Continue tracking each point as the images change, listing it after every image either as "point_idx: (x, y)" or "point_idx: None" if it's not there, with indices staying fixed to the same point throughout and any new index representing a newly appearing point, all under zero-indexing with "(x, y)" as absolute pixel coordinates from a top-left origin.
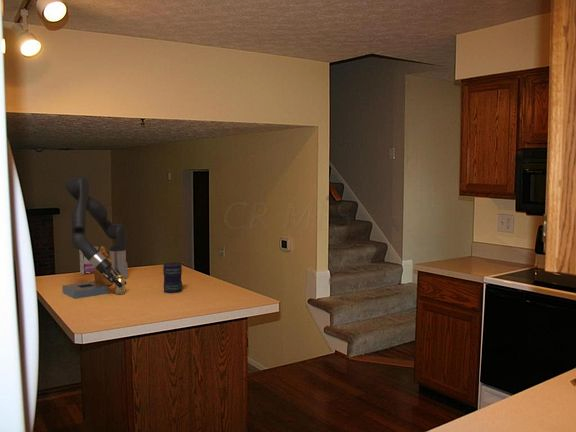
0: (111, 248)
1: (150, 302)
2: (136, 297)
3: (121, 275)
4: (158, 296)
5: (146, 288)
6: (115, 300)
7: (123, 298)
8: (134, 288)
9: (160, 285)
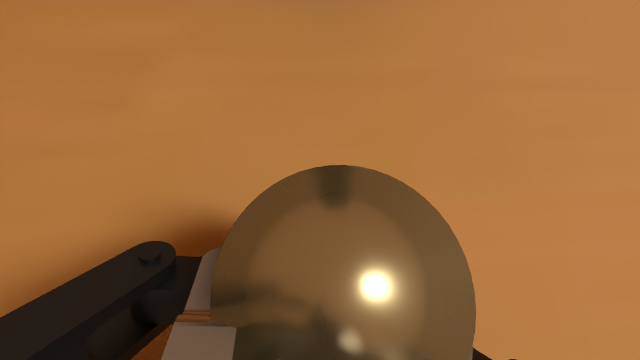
0: None
1: (623, 55)
2: (475, 140)
3: (423, 238)
4: (454, 17)
5: (173, 84)
6: (583, 300)
7: (506, 235)
8: (131, 168)
9: (110, 6)
